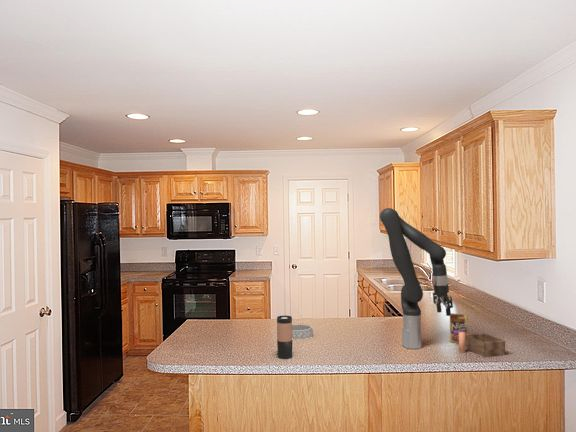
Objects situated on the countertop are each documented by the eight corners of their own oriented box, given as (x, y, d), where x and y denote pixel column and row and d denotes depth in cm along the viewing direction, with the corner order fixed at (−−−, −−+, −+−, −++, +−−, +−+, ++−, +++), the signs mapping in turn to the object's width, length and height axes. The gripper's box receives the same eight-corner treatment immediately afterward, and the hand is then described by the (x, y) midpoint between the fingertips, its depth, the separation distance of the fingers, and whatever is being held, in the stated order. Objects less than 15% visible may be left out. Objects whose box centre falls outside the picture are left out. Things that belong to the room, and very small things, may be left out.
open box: (484, 357, 228) (483, 342, 228) (464, 348, 243) (464, 334, 243) (505, 355, 231) (505, 340, 231) (484, 346, 246) (484, 333, 246)
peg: (461, 353, 235) (461, 333, 235) (457, 351, 238) (457, 331, 238) (466, 352, 236) (466, 332, 236) (463, 351, 239) (462, 331, 239)
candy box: (449, 342, 255) (449, 314, 255) (451, 340, 259) (450, 313, 258) (467, 344, 250) (466, 316, 250) (468, 342, 254) (468, 314, 254)
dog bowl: (283, 340, 266) (283, 331, 266) (284, 332, 284) (284, 323, 284) (313, 340, 265) (313, 330, 265) (312, 332, 283) (312, 323, 283)
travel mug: (292, 354, 238) (291, 315, 237) (293, 359, 230) (292, 318, 230) (277, 355, 237) (276, 315, 237) (277, 359, 230) (276, 318, 230)
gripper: (427, 282, 252) (430, 312, 252) (442, 286, 238) (445, 318, 238) (439, 280, 253) (442, 310, 254) (455, 284, 240) (458, 315, 240)
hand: (443, 313), depth 246 cm, fingers open, 8 cm apart
